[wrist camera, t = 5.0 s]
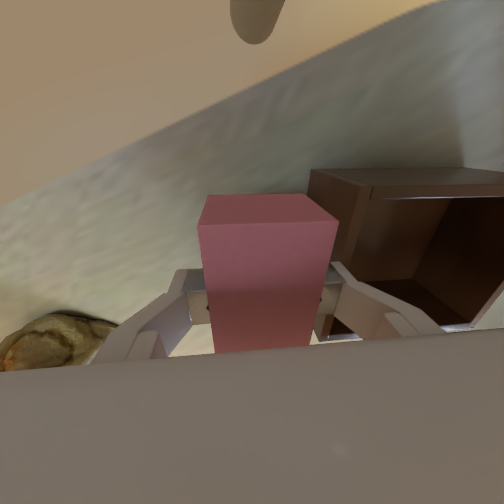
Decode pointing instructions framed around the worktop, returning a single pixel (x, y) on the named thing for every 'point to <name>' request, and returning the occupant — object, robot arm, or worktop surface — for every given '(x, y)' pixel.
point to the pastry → (53, 343)
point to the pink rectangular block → (264, 268)
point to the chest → (417, 238)
